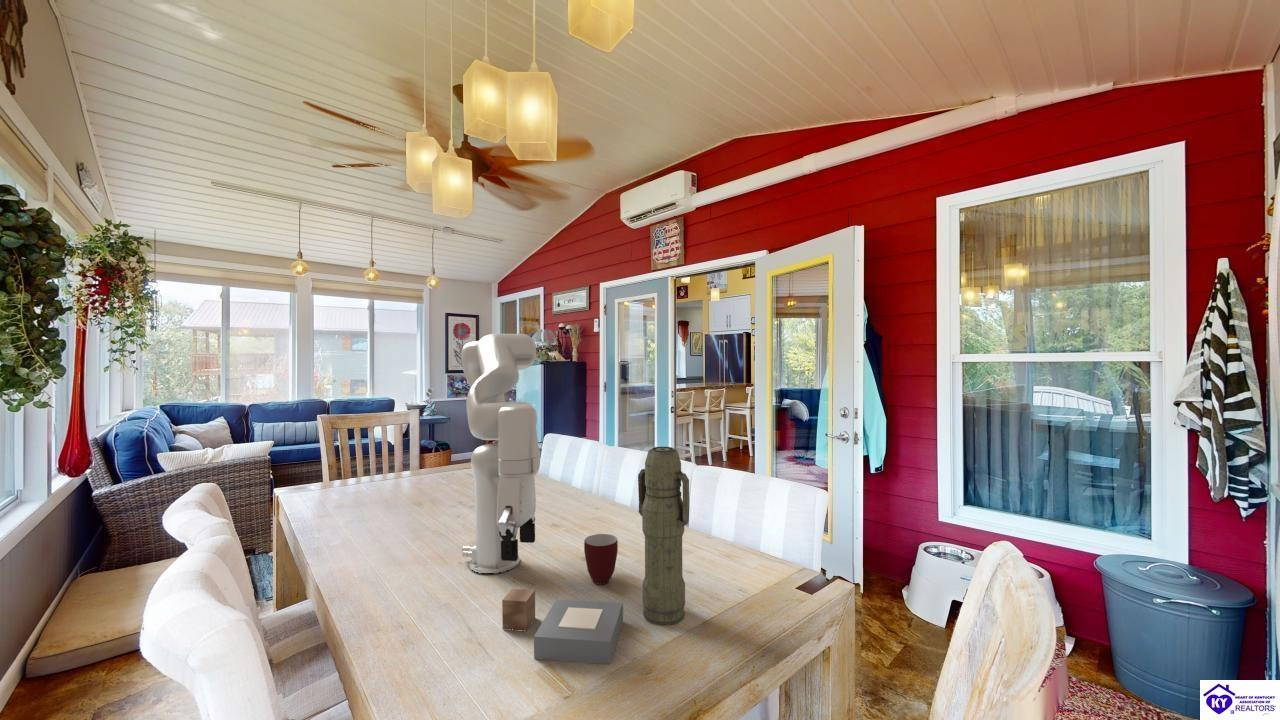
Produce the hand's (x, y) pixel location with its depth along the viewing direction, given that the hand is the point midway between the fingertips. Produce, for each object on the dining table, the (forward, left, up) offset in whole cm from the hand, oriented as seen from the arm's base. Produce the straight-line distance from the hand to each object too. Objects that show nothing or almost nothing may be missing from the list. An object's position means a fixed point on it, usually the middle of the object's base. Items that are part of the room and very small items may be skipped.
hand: (519, 550), depth 101 cm
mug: (+13, +22, -15) cm, 30 cm away
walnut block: (0, 0, -15) cm, 15 cm away
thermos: (+29, +7, -15) cm, 33 cm away
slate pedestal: (+14, -4, -15) cm, 21 cm away
